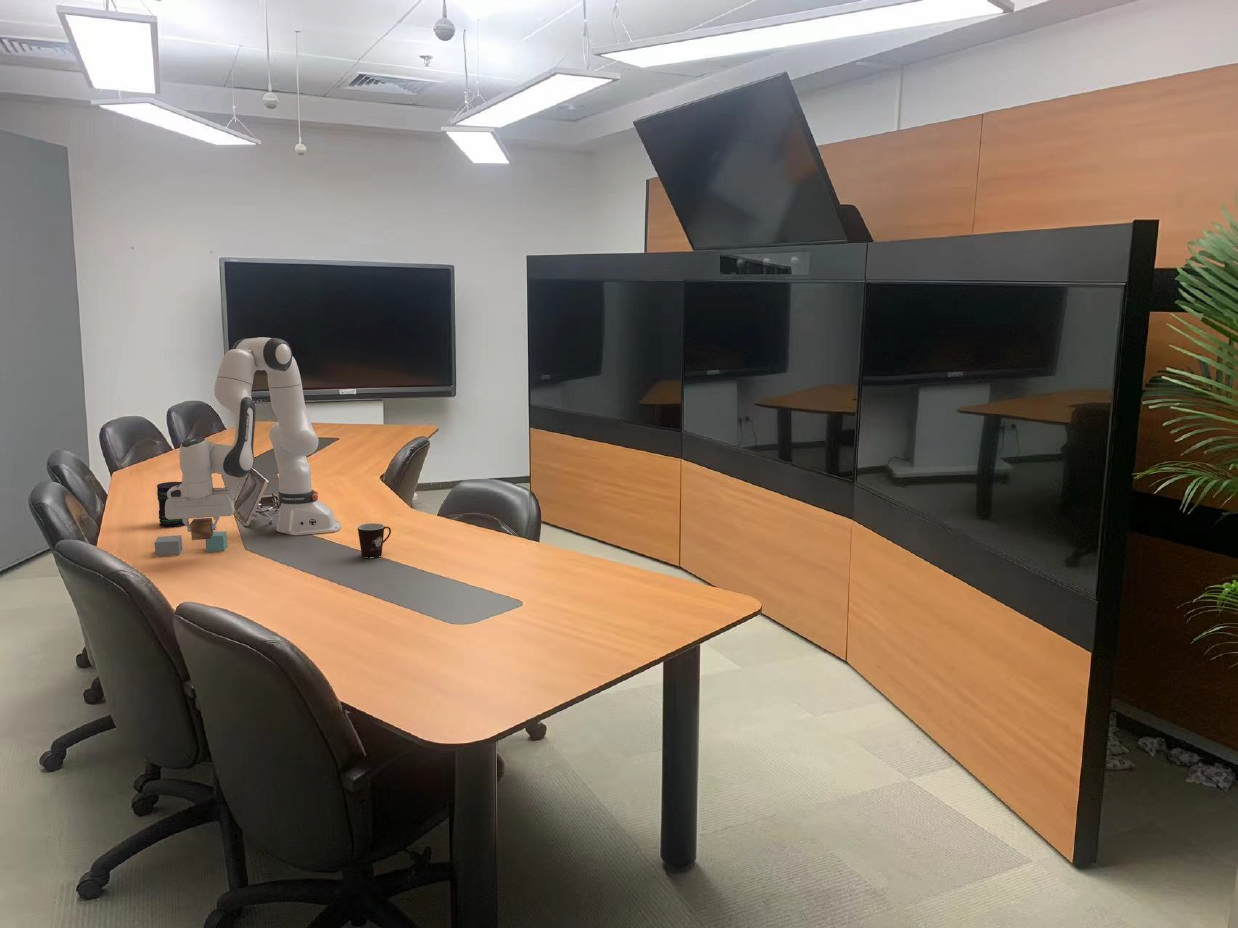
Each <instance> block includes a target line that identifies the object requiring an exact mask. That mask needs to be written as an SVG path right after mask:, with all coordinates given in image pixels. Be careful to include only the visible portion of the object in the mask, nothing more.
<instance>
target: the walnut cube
mask: <svg viewBox="0 0 1238 928" xmlns="http://www.w3.org/2000/svg"><path fill="white" fill-rule="evenodd" d="M213 522H214V521H213V517H205V518H192V520H191V522H189V524H190V527H191V532H190V535H191V540H192V541H199V540H206V539H211V537H212V536H213V534H214V532H215V531H214V530H211V526H210V525H211V524H214V523H213Z"/></svg>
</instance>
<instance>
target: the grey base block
mask: <svg viewBox="0 0 1238 928" xmlns="http://www.w3.org/2000/svg"><path fill="white" fill-rule="evenodd" d="M182 540H183V539H182V535H163V536H162V535H161V536H160V535H159V536H157V538H156V539H155V541H154V551H155V552H154V553H155V554H154V555H155V557H156V556H159V557H170V556H169V555H176V556H180V555H181V552H183V541H182ZM167 555H168V556H167Z"/></svg>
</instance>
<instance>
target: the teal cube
mask: <svg viewBox="0 0 1238 928" xmlns="http://www.w3.org/2000/svg"><path fill="white" fill-rule="evenodd" d="M213 532H214V534H213V536H212V537H211V539H205V548H206V549H205V550H206V551H205V552H206V553H215V552H216V553H217V552H219V553H220V551H222V552H225V551H226V549H227V548H228V537H227V535H228V533H227V531H223V530H221V531H213Z"/></svg>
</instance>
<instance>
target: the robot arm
mask: <svg viewBox="0 0 1238 928" xmlns="http://www.w3.org/2000/svg"><path fill="white" fill-rule="evenodd" d="M297 363H298V362H297V361H296V359H295V357H294V356H293V351H292V348H291V346H290V344H289V343H288V342H287V341H286V340H283V339H281V338H278V337H265V336H263V337H262V336H261V337H260V336H259V337H252V338H248V337H247V338H242V339H239V340H237V341H236V342H234V344H233V345H232V347H231V349H230V350H227V352H226V353H225V354H224V356H223V358H222V361H221V364H220V366H219V368H218V371H217V374H216V375H217V376H216V380H215V385H214V397H215V398H216V400H217V401H218V403H219V404H220V405H221V406H222V407H224V408H226V410H229V411H230V412H231V413H232V414H233V415H234V418H235V431H234V442H233V444H232V445H230V444H222V443H221V444H220V443H215V442H211V441H209V440H207V439H206V438H205V437H202V436H201V437H200V436H197V437H196V436H195V437H190V438H187V439H185V440H183V441H181V443H180V446H179V467H180V471H181V474H182V475H181V482H182V484H180V485H177V486H174V487H172V488H170V489H169V490H168V492H167V497H168V499H167V500H166V502H165V517H166V518H167V519H169V520H171V519H182V520H183V523H184V524H185V525H186V526H185V527H186V528H187V532H188V533H189V532H190V533H191V527H190V522H189V523H188V521H189V520H190V519H200V518H212V519H213V522H214V523H213V524H211V525H210V526H211V530H213V531H217V528H218V527H217V526H218V525H217V524H218V522H219V521H220V520H219V519H220V517H221V518H222V517H231V516H232V515H234V514H235V511H236V509H235V504H234V499H235V495H234V494H235V493H234V490H233V489H231V488H229V487H214V484H213V476H212V474H218V475H223V476H230V477H233V478H234V477H235V478H238V479H239V478H243V477H245V476H247V475H248V474H249V473H250V472H251V471H252V469H253V468H254V464H255V454H254V441H255V440H254V439H255V429H256V410H257V409H256V403H255V401H254V400H253V399H252V388H253V383H254V377H255V373H256V372H257V371H265V372H266V374H267V383H268V385H267V386H268V390H269V397H270V403H271V409H272V411H273V413H274V414H275V417H276V420H277V422H275V423H274V424H273V425H272V426H271V427H270V429H269V433H268V437H269V440H270V442H271V444H272V449H273V453H274V457H275V461H276V465H277V470H278V471H277V472H278V473H277V474H278V488H279V490H278V493H277V502H278V504H277V505H278V507H279V509H278V510H279V511H278V512H279V513H278V519H277V520H278V521H277V525H276V529H275V530H276V531H277V532H279V533H282V534H287V535H290V536H302V535H304V536H305V535H312V534H313V535H315V534H327V533H330V534H331V533H336V532H338V531H339V530H340V529H342V522H341V521H339V520H337V519H336V517H335V514H334V511H333V509H332V508H331V507H329V506H327V504H324V503H323V502H322V501H320V500H319V495H318V494H319V492H318V491H317V490H314V489H312V470H311V469H312V468H311V466H310V464H309V462H308V459H307V457H308V456H310V455H312V454H314V453H315V452H316V451H317V449H318V446H319V442H320V441H319V436H318V434H317V433H316V432H315V430H314V427H313V424H312V421H311V419H310V416H309V413H308V410H307V407H306V404H305V403H306V402H305V396H304V390H303V385H302V384H303V383H302V378H301V374H300V369H299V366H298V364H297Z"/></svg>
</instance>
